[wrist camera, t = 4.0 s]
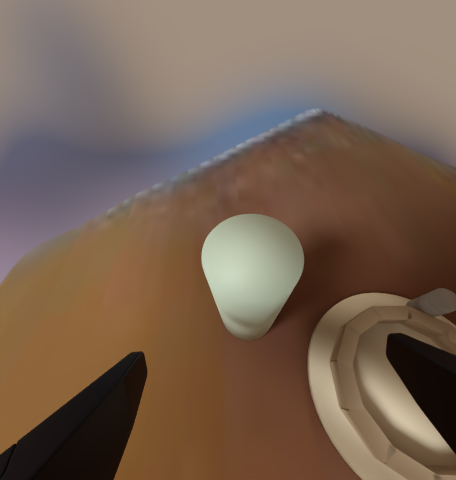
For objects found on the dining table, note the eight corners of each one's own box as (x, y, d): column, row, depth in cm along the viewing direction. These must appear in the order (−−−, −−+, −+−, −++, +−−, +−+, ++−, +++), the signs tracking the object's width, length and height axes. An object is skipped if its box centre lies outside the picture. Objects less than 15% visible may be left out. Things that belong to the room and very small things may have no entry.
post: (259, 352, 17) (278, 326, 8) (211, 322, 19) (181, 271, 9) (281, 302, 19) (318, 236, 10) (237, 279, 21) (233, 202, 11)
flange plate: (523, 598, 11) (654, 702, 7) (280, 423, 15) (291, 437, 11) (505, 346, 16) (573, 339, 13) (334, 271, 20) (352, 251, 17)
